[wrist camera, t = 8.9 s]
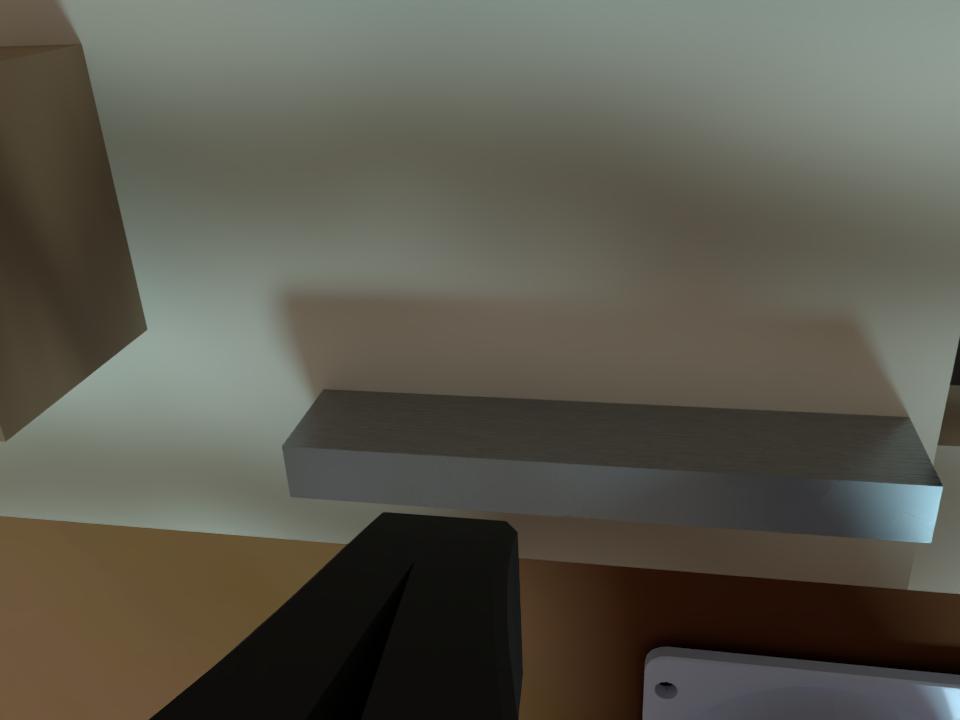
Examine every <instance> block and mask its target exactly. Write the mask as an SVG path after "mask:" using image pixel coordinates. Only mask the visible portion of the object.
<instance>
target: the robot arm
mask: <svg viewBox="0 0 960 720" xmlns="http://www.w3.org/2000/svg"><path fill="white" fill-rule="evenodd" d="M522 677H523V665H522V637H521V609H520V581H519V552H518V532H517V531H516V530H515V529H514V528H513V527H512V526H511V525H510V524H509V523H508V522H507V521H500V520H486V519H472V518H459V517H445V516H432V515H418V514H405V513H391V512H383V513H381V514H380V515H379V516H378V517H377V518H376V519H375V520H374V521H372V522H371V523H370V524H369V525H368V526H367V527H366V528H365V529H364V530H362V531H361V532H360V533H359V534H358V535H357V536H356V537H355V538H354V539H353V540H352V541H351V542H349V543H348V544H347V545H346V546H345V547H344V548H343V549H342V550H341V551H340V552H339V553H338V554H337V555H336V556H335V557H334V558H333V559H331V560H330V561H329V562H328V563H327V564H326V565H325V566H324V567H323V568H322V569H321V570H320V571H319V572H318V573H317V574H316V575H315V576H313V577H312V578H311V579H310V580H309V581H308V582H307V583H306V584H305V585H304V586H303V587H302V588H301V589H300V590H298V591H297V592H296V593H295V594H294V595H293V596H292V597H291V598H290V599H289V600H288V601H287V602H286V603H285V604H283V605H282V606H281V607H280V608H279V609H278V610H277V611H276V612H274V613H273V614H272V615H271V616H270V617H269V618H268V619H267V620H266V621H264V622H263V623H262V624H261V625H260V626H259V627H258V628H257V629H255V630H254V631H253V632H252V633H251V634H250V635H249V636H248V637H247V638H245V639H244V640H243V641H242V642H241V643H240V644H239V645H238V646H237V647H235V648H234V649H233V650H232V651H231V652H230V653H229V654H228V655H226V656H225V657H224V658H223V659H222V660H221V661H219V662H218V663H217V664H216V665H215V666H214V667H212V668H211V669H210V670H209V671H208V672H206V673H205V674H204V675H203V676H202V677H200V678H199V679H198V680H197V681H196V682H194V683H193V684H192V685H191V686H189V687H188V688H187V689H186V690H185V691H183V692H182V693H181V694H180V695H178V696H177V697H176V698H175V699H174V700H172V701H171V702H170V703H169V704H167V705H166V706H165V707H164V708H163V709H161V710H160V711H159V712H158V713H156V714H155V715H154V716H153V717H152V718H150V719H149V720H518V717H519V706H520V696H521V687H522ZM661 682H668V683H672V684H673V685H672V686H663V685H660V684H659V683H661ZM642 720H960V675H954V674H943V673H933V672H923V671H913V670H902V669H892V668H882V667H871V666H861V665H851V664H841V663H830V662H820V661H810V660H800V659H789V658H779V657H769V656H758V655H748V654H738V653H728V652H717V651H707V650H697V649H686V648H676V647H658V648H656V649H653V650H651V651H650V652H649V653H648V654H647V656H646V659H645V670H644V693H643V715H642Z"/></svg>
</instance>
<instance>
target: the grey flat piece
mask: <svg viewBox="0 0 960 720" xmlns="http://www.w3.org/2000/svg"><path fill="white" fill-rule="evenodd" d="M70 44H82V47H83V51H84V55H85V60H86V64H87V69H88V73H89V77H90V82H91V86H92V90H93V95H94V99H95V103H96V108H97V112H98V116H99V121H100V125H101V129H102V134H103V138H104V142H105V147H106V151H107V155H108V160H109V164H110V168H111V173H112V177H113V181H114V186H115V190H116V195H117V199H118V203H119V208H120V212H121V216H122V221H123V225H124V229H125V234H126V238H127V242H128V247H129V251H130V255H131V260H132V264H133V268H134V273H135V277H136V281H137V286H138V290H139V294H140V299H141V303H142V307H143V312H144V316H145V320H146V325H147V329H148V330H146V331H145V332H144V333H143V334H141V335H140V336H139V337H138V338H136V339H135V340H134V341H133V342H131V343H130V344H129V345H127V346H126V347H125V348H124V349H122V350H121V351H120V352H119V353H117V354H116V355H115V356H114V357H112V358H111V359H110V360H109V361H107V362H106V363H105V364H103V365H102V366H101V367H100V368H98V369H97V370H96V371H95V372H93V373H92V374H91V375H90V376H88V377H87V378H86V379H85V380H83V381H82V382H81V383H79V384H78V385H77V386H76V387H74V388H73V389H72V390H71V391H69V392H68V393H67V394H66V395H64V396H63V397H62V398H60V399H59V400H58V401H57V402H55V403H54V404H53V405H52V406H50V407H49V408H48V409H47V410H45V411H44V412H43V413H42V414H40V415H39V416H38V417H36V418H35V419H34V420H33V421H31V422H30V423H29V424H28V425H26V426H25V427H24V428H23V429H21V430H20V431H19V432H18V433H16V434H15V435H14V436H12V437H11V438H10V439H9V440H7V441H6V442H1V441H0V516H9V517H22V518H34V519H46V520H58V521H71V522H83V523H95V524H107V525H120V526H132V527H144V528H156V529H169V530H181V531H193V532H206V533H218V534H230V535H242V536H255V537H267V538H279V539H291V540H304V541H316V542H328V543H340V544H348V543H349V542H351V541H352V540H353V539H354V538H355V537H356V536H357V535H358V534H359V533H360V532H361V531H362V530H364V529H365V528H366V527H367V526H368V525H369V524H370V523H371V522H372V521H374V520H375V519H376V518H377V517H378V516H379V515H380V514H381V513H383V512H391V513H405V514H418V515H432V516H445V517H459V518H472V519H486V520H500V521H507V522H508V523H509V524H510V525H511V526H512V527H513V528H514V529H515V530H516V531H517V532H518V552H519V558H524V559H537V560H549V561H561V562H574V563H586V564H598V565H610V566H623V567H635V568H647V569H659V570H672V571H684V572H696V573H708V574H721V575H733V576H745V577H757V578H770V579H782V580H794V581H807V582H819V583H831V584H843V585H856V586H868V587H880V588H892V589H905V590H917V591H929V592H941V593H954V594H960V0H0V47H5V46H38V45H70ZM323 389H330V390H351V391H372V392H393V393H414V394H435V395H456V396H477V397H498V398H519V399H540V400H561V401H582V402H603V403H624V404H645V405H666V406H687V407H708V408H729V409H750V410H771V411H792V412H813V413H834V414H855V415H876V416H897V417H910V419H911V421H912V423H913V425H914V427H915V429H916V432H917V434H918V436H919V438H920V440H921V442H922V444H923V446H924V448H925V450H926V452H927V454H928V456H929V458H930V460H931V462H932V464H933V466H934V469H935V471H936V473H937V475H938V477H939V479H940V481H941V483H942V485H943V490H942V495H941V499H940V504H939V509H938V513H937V518H936V523H935V527H934V532H933V537H932V541H931V543H918V542H904V541H890V540H876V539H862V538H849V537H835V536H821V535H807V534H793V533H779V532H765V531H751V530H738V529H724V528H710V527H696V526H682V525H668V524H654V523H641V522H627V521H613V520H599V519H585V518H571V517H557V516H543V515H530V514H516V513H502V512H488V511H474V510H460V509H446V508H433V507H419V506H405V505H391V504H377V503H363V502H349V501H335V500H322V499H308V498H294V497H290V492H289V486H288V480H287V474H286V468H285V462H284V456H283V451H282V445H283V444H284V443H285V441H286V440H287V438H288V437H289V436H290V434H291V433H292V432H293V430H294V429H295V427H296V426H297V425H298V423H299V422H300V421H301V419H302V418H303V417H304V415H305V414H306V412H307V411H308V410H309V408H310V407H311V406H312V404H313V403H314V401H315V400H316V399H317V397H318V396H319V395H320V393H321V392H322V391H323Z"/></svg>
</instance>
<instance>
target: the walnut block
mask: <svg viewBox="0 0 960 720" xmlns="http://www.w3.org/2000/svg"><path fill="white" fill-rule="evenodd" d="M146 330H148V329H147V325H146V320H145V316H144V312H143V307H142V303H141V299H140V294H139V290H138V286H137V281H136V277H135V273H134V268H133V264H132V260H131V255H130V251H129V247H128V242H127V238H126V234H125V229H124V225H123V221H122V216H121V212H120V208H119V203H118V199H117V195H116V190H115V186H114V181H113V177H112V173H111V168H110V164H109V160H108V155H107V151H106V147H105V142H104V138H103V134H102V129H101V125H100V121H99V116H98V112H97V108H96V103H95V99H94V95H93V90H92V86H91V82H90V77H89V73H88V69H87V64H86V60H85V55H84V51H83V47H82V44H70V45H38V46H5V47H0V441H1V442H6V441H7V440H9V439H10V438H11V437H12V436H14V435H15V434H16V433H18V432H19V431H20V430H21V429H23V428H24V427H25V426H26V425H28V424H29V423H30V422H31V421H33V420H34V419H35V418H36V417H38V416H39V415H40V414H42V413H43V412H44V411H45V410H47V409H48V408H49V407H50V406H52V405H53V404H54V403H55V402H57V401H58V400H59V399H60V398H62V397H63V396H64V395H66V394H67V393H68V392H69V391H71V390H72V389H73V388H74V387H76V386H77V385H78V384H79V383H81V382H82V381H83V380H85V379H86V378H87V377H88V376H90V375H91V374H92V373H93V372H95V371H96V370H97V369H98V368H100V367H101V366H102V365H103V364H105V363H106V362H107V361H109V360H110V359H111V358H112V357H114V356H115V355H116V354H117V353H119V352H120V351H121V350H122V349H124V348H125V347H126V346H127V345H129V344H130V343H131V342H133V341H134V340H135V339H136V338H138V337H139V336H140V335H141V334H143V333H144V332H145V331H146Z"/></svg>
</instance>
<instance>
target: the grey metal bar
mask: <svg viewBox="0 0 960 720" xmlns="http://www.w3.org/2000/svg"><path fill="white" fill-rule="evenodd" d="M282 451H283V456H284V462H285V468H286V474H287V480H288V486H289V492H290V497H294V498H308V499H322V500H335V501H349V502H363V503H377V504H391V505H405V506H419V507H433V508H446V509H460V510H474V511H488V512H502V513H516V514H530V515H543V516H557V517H571V518H585V519H599V520H613V521H627V522H641V523H654V524H668V525H682V526H696V527H710V528H724V529H738V530H751V531H765V532H779V533H793V534H807V535H821V536H835V537H849V538H862V539H876V540H890V541H904V542H918V543H931V541H932V537H933V532H934V527H935V523H936V518H937V513H938V509H939V504H940V499H941V495H942V490H943V485H942V483H941V481H940V479H939V477H938V475H937V473H936V471H935V469H934V466H933V464H932V462H931V460H930V458H929V456H928V454H927V452H926V450H925V448H924V446H923V444H922V442H921V440H920V438H919V436H918V434H917V432H916V429H915V427H914V425H913V423H912V421H911V419H910V417H897V416H876V415H855V414H834V413H813V412H792V411H771V410H750V409H729V408H708V407H687V406H666V405H645V404H624V403H603V402H582V401H561V400H540V399H519V398H498V397H477V396H456V395H435V394H414V393H393V392H372V391H351V390H330V389H323V391H322V392H321V393H320V395H319V396H318V397H317V399H316V400H315V401H314V403H313V404H312V406H311V407H310V408H309V410H308V411H307V412H306V414H305V415H304V417H303V418H302V419H301V421H300V422H299V423H298V425H297V426H296V427H295V429H294V430H293V432H292V433H291V434H290V436H289V437H288V438H287V440H286V441H285V443H284V444H283V445H282Z"/></svg>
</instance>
